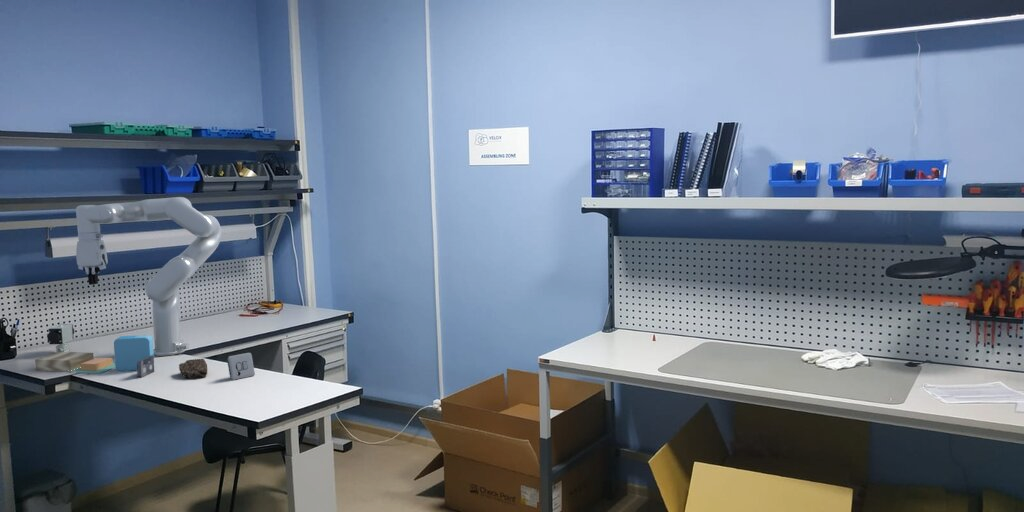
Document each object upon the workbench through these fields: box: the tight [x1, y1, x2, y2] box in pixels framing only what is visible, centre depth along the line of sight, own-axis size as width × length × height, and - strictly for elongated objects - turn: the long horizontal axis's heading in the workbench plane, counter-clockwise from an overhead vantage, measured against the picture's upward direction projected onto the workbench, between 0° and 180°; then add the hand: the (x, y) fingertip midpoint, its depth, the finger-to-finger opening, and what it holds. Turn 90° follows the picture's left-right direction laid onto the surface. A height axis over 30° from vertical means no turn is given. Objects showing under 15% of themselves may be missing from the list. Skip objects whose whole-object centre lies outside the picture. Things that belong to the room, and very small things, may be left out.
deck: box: [34, 351, 95, 372], centre depth 271 cm, size 14×12×4 cm
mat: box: [69, 361, 116, 374], centre depth 269 cm, size 12×15×1 cm
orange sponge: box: [80, 357, 114, 371], centre depth 269 cm, size 6×9×2 cm, turn 173°
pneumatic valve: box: [46, 323, 75, 353], centre depth 292 cm, size 6×12×12 cm, turn 4°
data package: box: [113, 334, 155, 372], centre depth 267 cm, size 12×4×12 cm, turn 101°
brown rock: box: [178, 358, 208, 379], centre depth 258 cm, size 12×10×5 cm
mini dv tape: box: [136, 355, 155, 379], centre depth 259 cm, size 8×2×6 cm, turn 176°
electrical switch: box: [226, 352, 256, 381], centre depth 256 cm, size 8×5×8 cm, turn 137°
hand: (93, 284), depth 284 cm, fingers closed
